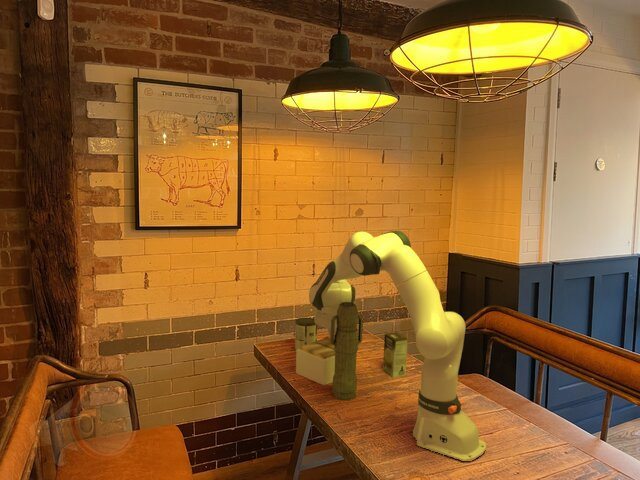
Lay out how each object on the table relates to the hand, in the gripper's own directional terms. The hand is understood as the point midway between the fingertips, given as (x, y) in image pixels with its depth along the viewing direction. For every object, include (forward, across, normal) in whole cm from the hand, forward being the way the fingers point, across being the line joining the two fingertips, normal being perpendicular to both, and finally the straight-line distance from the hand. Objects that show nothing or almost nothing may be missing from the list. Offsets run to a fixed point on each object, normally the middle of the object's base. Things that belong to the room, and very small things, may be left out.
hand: (333, 339), depth 208 cm
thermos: (+12, -22, +17) cm, 30 cm away
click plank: (+2, -3, +3) cm, 4 cm away
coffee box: (+12, -22, -15) cm, 29 cm away
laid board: (+2, -3, +11) cm, 12 cm away
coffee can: (+12, +22, -6) cm, 26 cm away
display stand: (+12, -3, +7) cm, 14 cm away
